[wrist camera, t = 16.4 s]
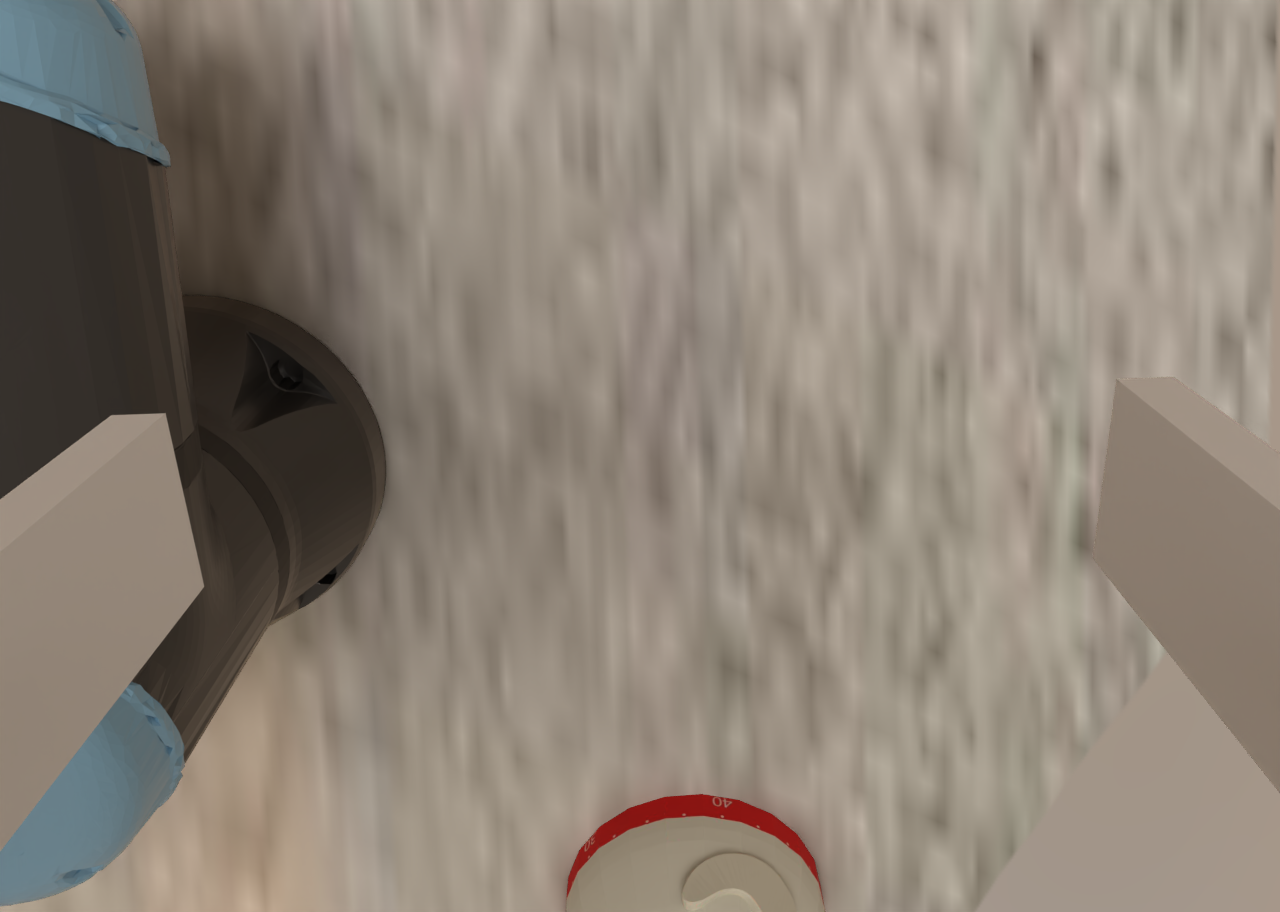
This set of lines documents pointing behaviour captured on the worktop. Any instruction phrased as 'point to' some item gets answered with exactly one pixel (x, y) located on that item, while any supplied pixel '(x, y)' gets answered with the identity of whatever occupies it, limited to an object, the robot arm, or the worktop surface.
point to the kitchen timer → (694, 861)
